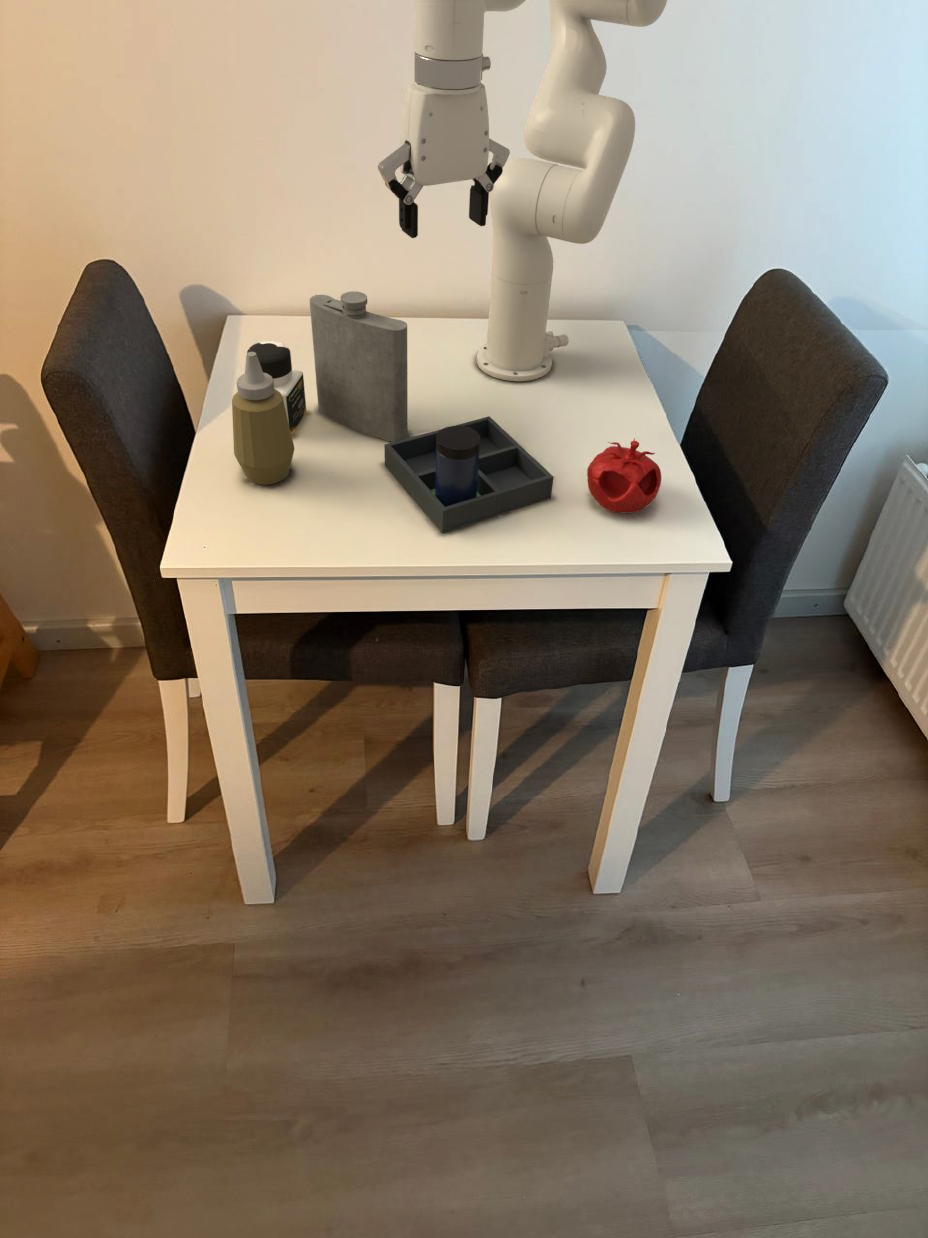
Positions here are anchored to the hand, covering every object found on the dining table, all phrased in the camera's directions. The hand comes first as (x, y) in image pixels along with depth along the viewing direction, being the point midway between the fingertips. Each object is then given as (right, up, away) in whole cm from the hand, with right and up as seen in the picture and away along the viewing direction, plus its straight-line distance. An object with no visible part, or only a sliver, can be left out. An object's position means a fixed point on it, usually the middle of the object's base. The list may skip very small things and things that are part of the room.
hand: (443, 228), depth 111 cm
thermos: (+1, -33, +8) cm, 34 cm away
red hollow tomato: (+24, -33, +12) cm, 42 cm away
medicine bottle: (-26, -20, +22) cm, 39 cm away
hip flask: (-13, -20, +23) cm, 33 cm away
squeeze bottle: (-25, -29, +13) cm, 40 cm away
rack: (+3, -30, +13) cm, 33 cm away
